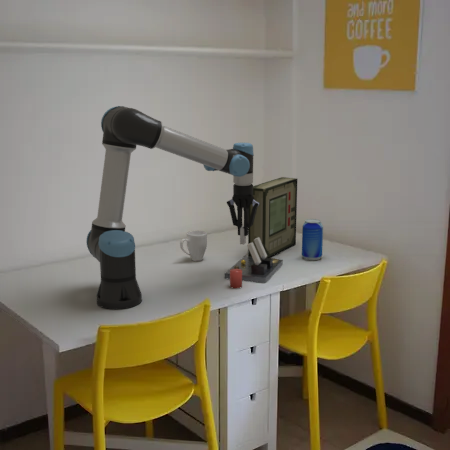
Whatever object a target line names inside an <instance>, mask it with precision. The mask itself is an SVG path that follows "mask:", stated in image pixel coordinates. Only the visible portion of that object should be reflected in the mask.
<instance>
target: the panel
mask: <svg viewBox="0 0 450 450" xmlns="http://www.w3.org/2000/svg"><path fill="white" fill-rule="evenodd" d="M259 258H260V260H261V263H260V264H259V265H258V266H257V265H255V262H254V260H253V258H252V257H250V256H248V255H244V256H243V257H242V258H241V259H239V260H238V261H237V262H236V263H234V265H232V266H231V267H230V268H229V269H228V270H227V271H225V272H224V279H226V278H228V279H227V280H230V270H231V269H241V270H242V281H243V280H244V282H252V281H253V283H259V284H260V283H261V284H266V283H268V282H269V280H270V279H271V278H272V277H273V275H275V273H276V272H278V270H279V269H280V268H281V267H282V266H283V265H284V264H283V262H284V261H283V259H280V258H279V259H278V258H273V257H272V258H265V259H264V260H263V259H262V258H261V257H259Z"/></svg>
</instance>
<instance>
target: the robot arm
mask: <svg viewBox="0 0 450 450" xmlns="http://www.w3.org/2000/svg"><path fill="white" fill-rule="evenodd" d="M100 126H101V131H102V133H103V134H102V142H101V145H102V146H103V147H104V149H105V152H104V153H105V154H104V161H103V169H102V176H101V177H102V178H101V185H100V194H99V200H98V201H99V202H98V207H97V216H96V218H95V219H94V220H92V221H91V228H90V229H91V230H90V231H88V234H87V236H86V247H87V248H88V249H87V250H88V251H89V253H90V254H91V255H92V257H94V259H96V260H97V261H98V262H99V267H100V269H99V270H100V283H99V286H98V288H97V289H98V290H97V292H96V304H97V306H98V307H101V308H103V309H107V310H108V309H109V310H123V309H124V310H125V309H129V308H133V307H136V306H138V305H139V304H141V303H142V302H143V297H142V296H143V294H142V291H141V289H140V286H139V283H138V280H137V274H136V267H137V266H136V242H135V237H134V236H133V235H132V233H131V232H128V231H126V228H127V227H126V225H125V223H124V222H123V214H124V207H125V200H126V193H127V185H128V179H129V170H130V163H131V162H130V161H131V155H132V153H133V152H134V151H135V150H136V149H137V146H141V147H144V148H146V149H150V150H154V149H155V148H157V149H159V150H162V151H165V152H168V153H170V154H173V155H176V156H179V157H181V158H184V159H187V160H190V161H193V162H195V163H199V164H201V165H203V168H204V169H205V170H206V171H208V172H211V171H212V172H215V171H219V172H222V173H225V174H229V175H231V176H233V177H232V178H233V181H232V183H233V188H232V189H233V195H232V198H231V199H229V200H227V201H226V204H227V207H228V209H229V212H230V216H231V221H232V225H233V226H234V227H236V228H237V236H239V244H240V245H245V244H247V237H248V227H251V226H252V225H253V223H254V219H255V215H256V211H257V207H258V206H259V205H260V203H259V202H256V201H255V200H254V197H253V186H254V185H253V183H254V156H255V155H254V146H253V144H252V143H250V142H235V143H233V147H232V148H229V149H225V148H223V147H221V146H218V145H214V144H212V143H210V142H207V141H204V140H202V139H199V138H197V137H194V136H191V135H189V134H186V133H183V132H181V131H178V130H176V129H172V128H171V127H168V126H165V125H164V124H163V122H162V121H161V120H158V119H156V118H153V117H152V116H149V115H148V114H146V113H144V112H142V111H140V110H138V109H136V108H132V107H127V106H123V105H117V106H113V107H111V108H109V109H107V110H106V111H105V112H104V113H103V115H102V117H101V121H100ZM252 203H253V208H252V212H251V216H250V220H249V206H250V205H251V204H252ZM235 206H236V208H235ZM236 210H237V211H236ZM236 212H237V213H236Z"/></svg>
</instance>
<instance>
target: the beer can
mask: <svg viewBox="0 0 450 450" xmlns="http://www.w3.org/2000/svg"><path fill="white" fill-rule="evenodd" d="M301 231H302V236H301V237H302V238H301V256H302V258H303V259H304V260H307V261H319V260H320V259H321V258H322V256H323V246H324V245H323V244H324V241H323V240H324V225H323V223H322V220H321V219H317V218H308V219H305V220H304V223H303V224H302V230H301Z"/></svg>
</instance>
